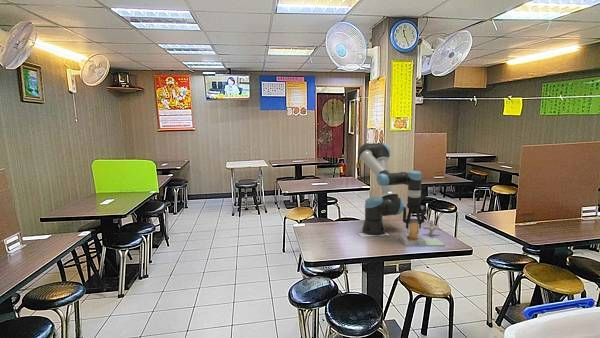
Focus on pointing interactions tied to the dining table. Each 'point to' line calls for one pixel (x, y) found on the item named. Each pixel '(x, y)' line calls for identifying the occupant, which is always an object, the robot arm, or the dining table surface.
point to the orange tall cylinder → (413, 229)
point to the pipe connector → (431, 227)
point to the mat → (433, 242)
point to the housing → (412, 241)
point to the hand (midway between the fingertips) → (413, 233)
